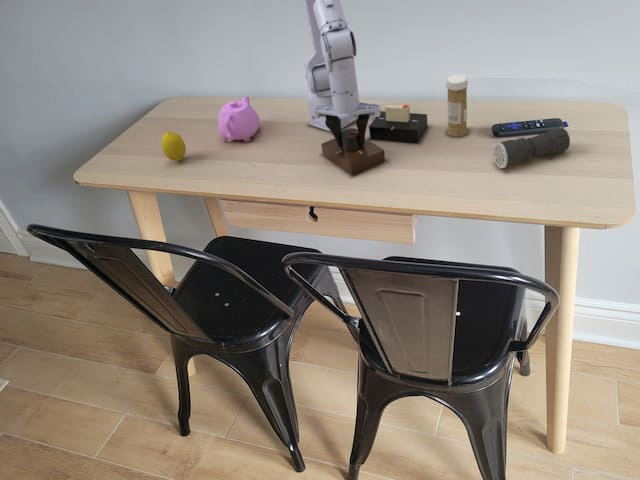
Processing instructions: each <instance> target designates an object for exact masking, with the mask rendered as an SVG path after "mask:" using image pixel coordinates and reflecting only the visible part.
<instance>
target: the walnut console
mask: <svg viewBox="0 0 640 480" xmlns="http://www.w3.org/2000/svg"><path fill="white" fill-rule="evenodd" d="M320 147H321V153H322V156H323V157H325V158H326V159H328V160H329V161H330V162H332V163H333V164H335V166H337V167H338V168H340V169H341V170H343V171H345V173H347V174H349V175H350V176H351V177H354V176H356V175H359V174H361V173H363V172H365V171H368V170H370V169H372V168H374V167H376V166H379V165H381V164H383V163H385V162H386V153H385V149H384V148H382V147H380V146H379V145H377V144H375V143H374V142H373V141H370V140H369V139H367V138H366V137H365V143H364V146H363V147H361V148H360V149H358V150H356V151H345V150H343V148H342V147H339V146H338V143H337V141H336V139H335V137H333V138H332V139H329V140H327V141H325V142H323V143H321V144H320Z"/></svg>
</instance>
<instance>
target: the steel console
mask: <svg viewBox="0 0 640 480" xmlns="http://www.w3.org/2000/svg"><path fill="white" fill-rule="evenodd" d="M428 126H429V125H428V114H427V113H416V112H415V113H414V112H410V120H409V122H396V121H386V112H385V110H381V113H380V116H379V117H375V118H374V119H373V121H372V122H371V123H370V124H369V125H368V130H369V139H370V140H372V141H382V142H383V141H384V142H395V143H407V144H416V145H417V144H419V143H420V141H421V140H422V138H423V136H424V134H425V133H426V131H427V130H428ZM370 140H369V141H370Z"/></svg>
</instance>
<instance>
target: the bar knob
mask: <svg viewBox="0 0 640 480" xmlns="http://www.w3.org/2000/svg"><path fill="white" fill-rule="evenodd" d="M384 111H385V112H386V121H396V122H409V120H410V113H411V111H410V105H409V104H386V105H385V106H384Z"/></svg>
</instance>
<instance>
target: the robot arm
mask: <svg viewBox="0 0 640 480" xmlns="http://www.w3.org/2000/svg"><path fill="white" fill-rule="evenodd" d="M341 3H342V2H341V0H303V5H304V10H305V15H306V20H307V26H308V30H309V31H308V32H309V35H310V42H311V45H312V51H311V53H310V54H309V55H308V57H307V58H306V59H305V61H304V69H305V79H306V84H307V88H308V90H309V92H308V95H307V105H308V110H309V111H308V112H309V116H310V121H309V123H308V124H309V126H312V127H314V128H319V129H321V130H324V131H328V132H331V134H332V136H333V138H335V139H336V141H337V143H338V146H339V147H342V142H341V135H340V134H341V132H342V131H343V130H342V129H344V128H345V127H347V126H349V125H350V124H353V122H355V124H356V129H358V133H359V144H360V147H363V146H364V143H365V138H366V131H367V127H368V124H369V121H370V117H371V116H373V117H375V118H376V117H379V116H380V113H381V111H382V110H381V104H375V103H367V102H361V101H360V97H359V88H358V81H357V79H358V78H357V73H356V64H355V63H356V62H355V57H356V56H357V51H358V50H357V42H356V37H355V34H354V31H353V28H352V26H350V23H349V21H348V22H347V20H346V17H345V14H344V10H343V7H342V4H341ZM355 117H357V119H356V118H355Z"/></svg>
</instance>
